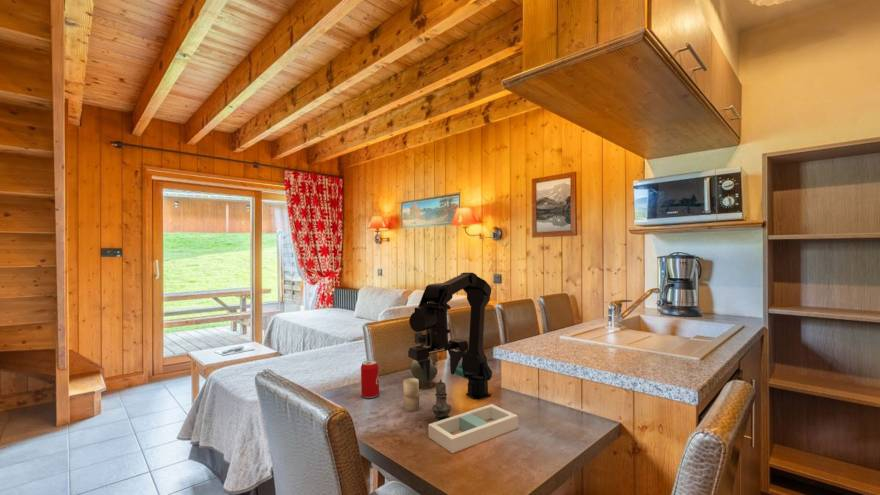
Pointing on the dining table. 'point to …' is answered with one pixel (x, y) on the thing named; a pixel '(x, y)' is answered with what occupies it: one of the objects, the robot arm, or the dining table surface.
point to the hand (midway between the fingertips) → (440, 377)
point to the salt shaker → (441, 403)
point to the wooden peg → (411, 394)
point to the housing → (472, 427)
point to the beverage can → (370, 379)
